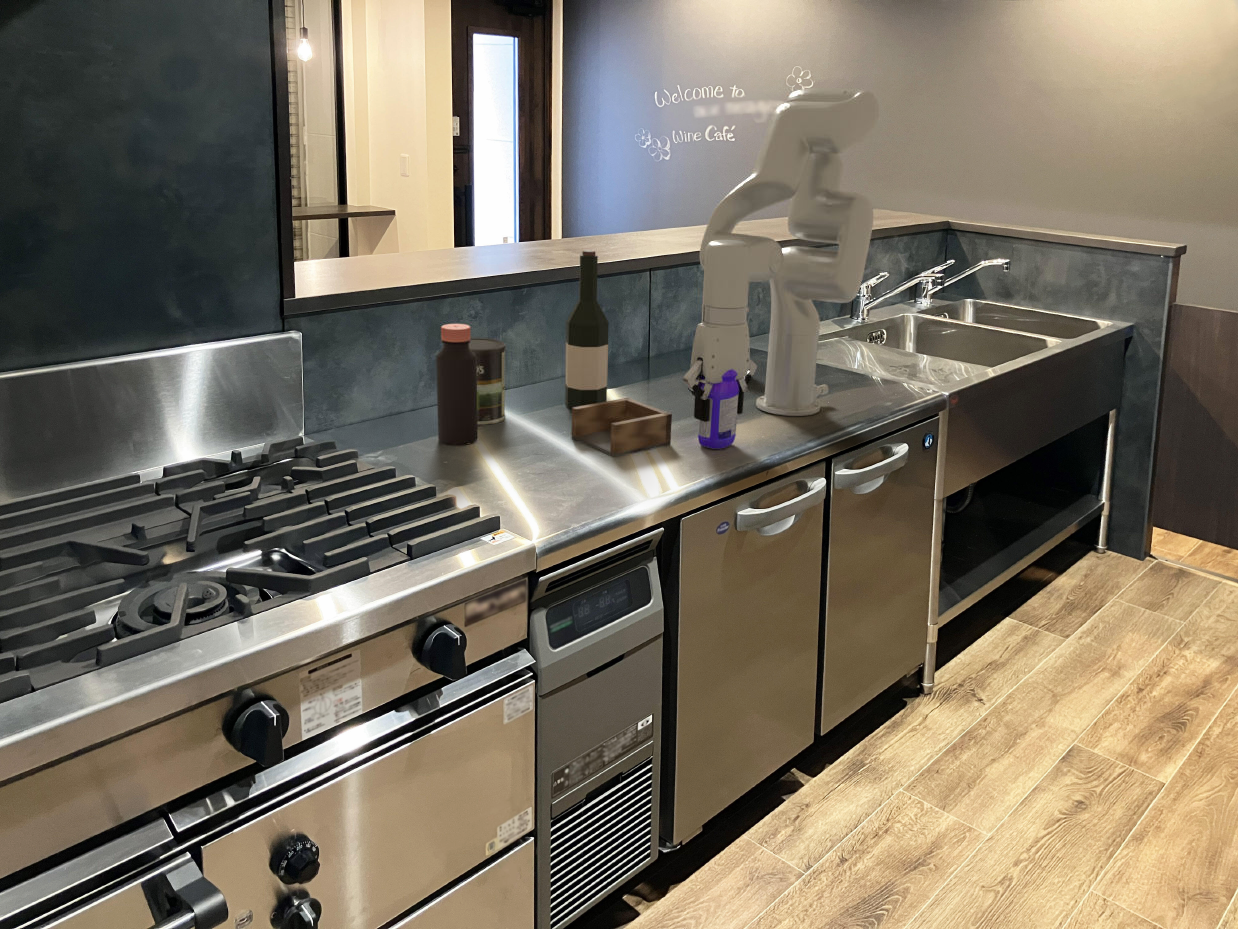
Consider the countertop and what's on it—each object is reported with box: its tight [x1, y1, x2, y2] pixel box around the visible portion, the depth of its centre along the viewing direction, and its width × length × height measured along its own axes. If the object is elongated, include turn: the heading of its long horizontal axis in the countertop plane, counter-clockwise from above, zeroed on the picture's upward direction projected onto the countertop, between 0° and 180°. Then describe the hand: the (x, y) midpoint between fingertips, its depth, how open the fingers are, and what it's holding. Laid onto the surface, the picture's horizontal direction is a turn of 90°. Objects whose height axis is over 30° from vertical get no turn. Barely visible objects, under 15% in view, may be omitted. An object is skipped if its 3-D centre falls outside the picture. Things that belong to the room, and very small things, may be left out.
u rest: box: [571, 397, 673, 458], centre depth 182 cm, size 12×12×6 cm
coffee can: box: [469, 337, 506, 426], centre depth 192 cm, size 10×10×14 cm
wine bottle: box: [564, 249, 610, 410], centre depth 199 cm, size 8×8×30 cm
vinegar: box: [435, 323, 479, 446], centre depth 178 cm, size 7×7×20 cm
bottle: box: [697, 369, 739, 450], centre depth 180 cm, size 7×6×17 cm
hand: (718, 415), depth 181 cm, fingers closed on bottle, 7 cm apart
